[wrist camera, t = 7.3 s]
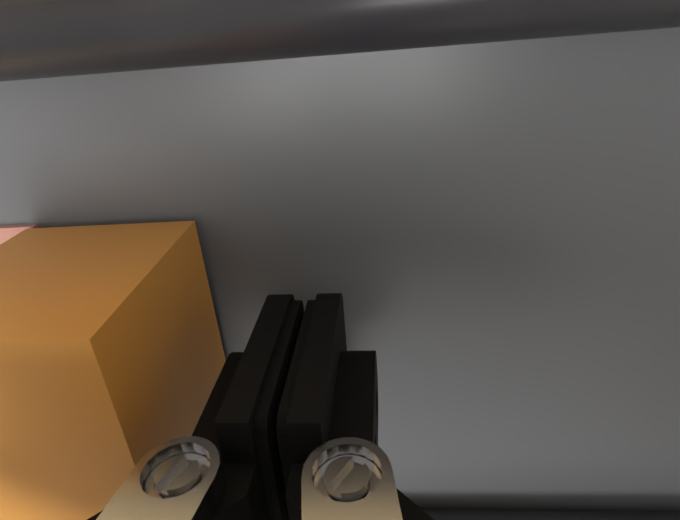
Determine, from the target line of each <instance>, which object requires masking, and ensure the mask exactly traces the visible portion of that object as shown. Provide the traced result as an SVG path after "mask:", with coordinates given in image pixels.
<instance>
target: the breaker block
mask: <svg viewBox="0 0 680 520" xmlns="http://www.w3.org/2000/svg"><path fill="white" fill-rule="evenodd" d="M175 221H195V224H196V229H197V234H198V238H199V243H200V247H201V252H202V256H203V261H204V265H205V270H206V274H207V279H208V283H209V288H210V292H211V297H212V301H213V306H214V310H215V315H216V319H217V324H218V328H219V333H220V337H221V342H222V346H223V351H224V355H225V360H226V359H227V357H228V356H229V354H230V353H232V352H244V350H245V348H246V345H247V343H248V341H249V338H250V336H251V333H252V331H253V329H254V326H255V324H256V321H257V319H258V317H259V314H260V312H261V309H262V307H263V305H264V302H265V300H266V297H267V296H268V295H276V294H293V296H294V299H295V300H302V302H303V306H304V312H305V308H306V304H307V301H308V300H315V299H316V295H317V294H318V293H342V297H343V307H344V320H345V332H346V345H347V351H371V350H376V356H377V375H378V446H379V447H380V448H381V449H382V450H383V451H384V452H385V453H386V455H387V456H388V458H389V461H390V463H391V465H392V470H393V474H394V479H395V484H396V488H397V489H398V490H399V491H401V492H402V493H403V494H404V495H405V496H407V497H408V498H409V499H410V500H411V501H412V502H414V503H415V504H416V505H417V506H418V507H420V508H421V509H422V510H423V511H424V512H426V513H427V514H428V515H429V516H430V517H432V518H433V519H434V520H680V0H0V245H1V244H2V243H4V242H6V241H7V240H9V239H10V238H12V237H14V236H15V235H17V234H18V233H20V232H22V231H23V230H25V229H30V228H51V227H72V226H92V225H113V224H134V223H154V222H175Z"/></svg>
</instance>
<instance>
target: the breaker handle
mask: <svg viewBox="0 0 680 520" xmlns="http://www.w3.org/2000/svg"><path fill="white" fill-rule="evenodd" d="M225 361H226V360H225V355H224V351H223V346H222V342H221V337H220V333H219V328H218V324H217V319H216V315H215V310H214V306H213V301H212V297H211V292H210V288H209V283H208V279H207V274H206V270H205V265H204V261H203V256H202V252H201V247H200V243H199V238H198V234H197V229H196V224H195V221H175V222H154V223H134V224H113V225H92V226H72V227H51V228H30V229H25V230H23V231H22V232H20V233H18V234H17V235H15V236H14V237H12V238H10V239H9V240H7V241H6V242H4V243H2V244H1V245H0V520H87V519H89V518H90V517H92V516H94V515H96V514H97V513H99V512H101V511H102V510H103V509H104V508H105V507H106V505H107V504H108V503H109V501H110V500H111V498H112V497H113V496H114V494H115V493H116V492H117V490H118V489H119V488H120V486H121V485H122V483H123V482H124V481H125V479H126V478H127V477H128V475H129V474H130V472H131V471H132V470H133V468H134V467H135V466H136V464H137V463H138V462H139V461H140V460H141V459H142V458H143V456H144V455H145V454H146V453H147V452H149V451H150V450H152V449H153V448H155V447H156V446H157V445H159V444H161V443H164V442H166V441H168V440H170V439H174V438H179V437H183V436H192V434H193V431H194V429H195V427H196V425H197V423H198V421H199V418H200V416H201V414H202V412H203V410H204V407H205V405H206V403H207V401H208V399H209V396H210V394H211V392H212V390H213V388H214V385H215V383H216V381H217V379H218V377H219V375H220V372H221V370H222V368H223V366H224V364H225Z"/></svg>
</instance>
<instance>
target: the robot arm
mask: <svg viewBox="0 0 680 520" xmlns="http://www.w3.org/2000/svg"><path fill="white" fill-rule="evenodd" d="M87 520H434V519H433V518H432V517H430V516H429V515H428V514H427V513H426V512H424V511H423V510H422V509H421V508H420V507H418V506H417V505H416V504H415V503H414V502H412V501H411V500H410V499H409V498H408V497H407V496H405V495H404V494H403V493H402V492H401V491H399V490H398V489H397V488H396V484H395V479H394V474H393V470H392V465H391V463H390V461H389V458H388V456H387V455H386V453H385V452H384V451H383V450H382V449H381V448H380V447H379V446H378V375H377V356H376V350H371V351H347V345H346V332H345V320H344V307H343V297H342V293H318V294H317V295H316V299H315V300H308V301H307V304H306V308H305V312H304V306H303V302H302V300H295V299H294V296H293V294H276V295H268V296H267V297H266V300H265V302H264V305H263V307H262V309H261V312H260V314H259V317H258V319H257V321H256V324H255V326H254V329H253V331H252V333H251V336H250V338H249V341H248V343H247V345H246V348H245V350H244V352H232V353H230V354H229V356H228V357H227V359H226V361H225V364H224V366H223V368H222V370H221V372H220V375H219V377H218V379H217V381H216V383H215V385H214V388H213V390H212V392H211V394H210V396H209V399H208V401H207V403H206V405H205V407H204V410H203V412H202V414H201V416H200V418H199V421H198V423H197V425H196V427H195V429H194V431H193V434H192V436H183V437H179V438H174V439H170V440H168V441H166V442H164V443H161V444H159V445H157V446H156V447H155V448H153V449H152V450H150V451H149V452H147V453H146V454H145V455H144V456H143V458H142V459H141V460H140V461H139V462H138V463H137V464H136V466H135V467H134V468H133V470H132V471H131V472H130V474H129V475H128V477H127V478H126V479H125V481H124V482H123V483H122V485H121V486H120V488H119V489H118V490H117V492H116V493H115V494H114V496H113V497H112V498H111V500H110V501H109V503H108V504H107V505H106V507H105V508H104V509H103V510H102V511H101V512H99V513H97V514H96V515H94V516H92V517H90V518H89V519H87Z"/></svg>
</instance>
